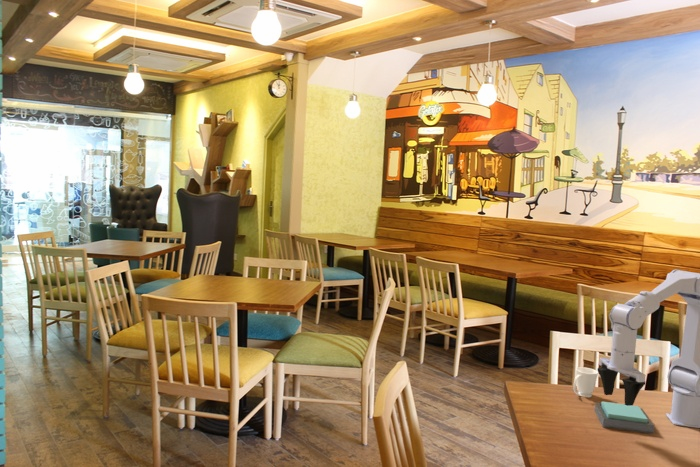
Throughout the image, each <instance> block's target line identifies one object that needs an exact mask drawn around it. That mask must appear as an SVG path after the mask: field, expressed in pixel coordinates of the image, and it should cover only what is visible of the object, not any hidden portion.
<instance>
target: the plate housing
mask: <svg viewBox="0 0 700 467" xmlns="http://www.w3.org/2000/svg"><path fill="white" fill-rule="evenodd" d="M594 403H595V404H594V413H595V414H596V416H597V419H598V420H599V423H600V424H601V426H602V428H604V429H605V428H607V429H614V430H621V431H627V432H633V433H642V434H647V435H655V434H654V433H655V424H654V422H653V421H652V420H651V419H650V417H649V416H648V415H647V413H646V411H645V410H644V409H643V408H640V407H639V408H640V409H641V410H642V412H643V413H644V415H645V416H646V417H647V419H648V423H642V422H635V421H628V420H620V419H613V418H607V416H606V414H605V413H604V411H603V409H602V407H601V402H596V401H595V402H594Z"/></svg>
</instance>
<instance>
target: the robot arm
mask: <svg viewBox="0 0 700 467" xmlns="http://www.w3.org/2000/svg"><path fill="white" fill-rule="evenodd" d="M676 294H677V295H678V296H679V297H681V298H682V299H683V300H684V301H685V302H686V311H685V312H686V313H685V318H684V319H685V320H684V325H683V326H684V327H683V333H682V342H681V350H680V356H679V357H677V358H674V359H673V360H672V361H671V365H670V367H669V370H668V372H667V374H666V375H667V376H666V377H667V382H668V383H669V385H670V389H672V398H671V399H672V400H671V401H672V402H671V410H670V413H668V412H666V413H665V416H666V417H667V418H668V419H669V421H670V422H671V423H672V424H673V425H675V426H682V427H689V428H694V429H695V428H696V429H700V273H699V272H693V271H692V272H691V271H686V270H682V269H678V268H677V269H673V270H671V272H668V273H667V275H666V278H665V280H663V281H662V282H661V283H660V284H659V285H657V286H656V287H655V288H654V289H652V291H648V290H641V291H640V292H639V294H637V295H636V296H634V297H633V298H631V299H629V300H627V301H626V302H625V303H618V304H615V305H614V306H613V307H612V309H611V310H610V313H609V314H608V318H609V321H610V323H611V324H610V325H611V326H610V328H611V330H612V340H611V351H610V358H606V357H600V358H599V360H598V361H599V362H598V363H599V364H598V366H600V367H597V371H598V375H599V376H600V380H601V383H602V389H603V393H604V395H605V396H611V395H612V396H613V393H614V390H615V389H614V388H615V382H616V379H617V376H618V373H619V374H621V375H623V376H625V377H628V378H622V383H623V388H624V389H623V390H624V404H625V405H627V406H631V405H633V406H634V404H635V401H636V398H637V396H638V395H639V393H640V392H641V390H642V388H643V387H644V386H645V385H646V374H645V373H642V372H641V371H639V370H638V369H637V368H635V367H634V366H635V359H636V358H635V357H636V356H635V354H636V347H637V346H636V345H637V337H638V336H637V335H638V329H641V327H642V326H643V323H644V321H645V320H646V319H647V317H648V316H650V315H651V314H653V313H654V312H656V311H657V310H659V308H660V305H661V302H664V301H665V300H668V299H669V298H670V297H673V296H675V295H676Z"/></svg>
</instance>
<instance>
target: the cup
mask: <svg viewBox="0 0 700 467" xmlns="http://www.w3.org/2000/svg"><path fill="white" fill-rule="evenodd" d="M598 376H599V372H598V370H596V369H594V368H590V367H586V366H585V367H584V366H583V367H582V366H581V367H579V366H577V367H576V368H575V377H574V379H573V385H572V390H573V392H574V393H575V394H576V395H577V396H578V397H581V398H582V397H584V398H592V397H593V395H592V394H593V392H594V389H595V387H596V382H597V379H598Z"/></svg>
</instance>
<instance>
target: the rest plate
mask: <svg viewBox="0 0 700 467" xmlns="http://www.w3.org/2000/svg"><path fill="white" fill-rule="evenodd" d="M600 403H601V407H602V409H603V411H604V413H605V414H606V416H607V418H613V419H620V420H628V421H635V422H642V423H648V419H647V417H646V416H645V415H644V413H643V412H642V410H641V409H640V406H639V405H634V404H633V405H631V406H627V405H625V403H624V404H623V403H616V402H608V401H601V402H600Z"/></svg>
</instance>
